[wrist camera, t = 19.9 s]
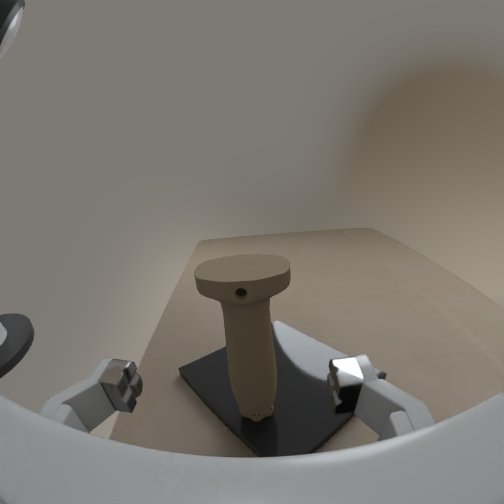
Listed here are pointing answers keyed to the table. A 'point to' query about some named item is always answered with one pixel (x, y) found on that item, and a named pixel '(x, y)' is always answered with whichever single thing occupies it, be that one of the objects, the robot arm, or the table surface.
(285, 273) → the handle
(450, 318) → the table surface
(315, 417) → the dark grey square plate
